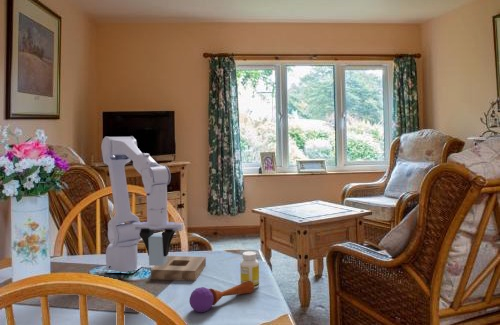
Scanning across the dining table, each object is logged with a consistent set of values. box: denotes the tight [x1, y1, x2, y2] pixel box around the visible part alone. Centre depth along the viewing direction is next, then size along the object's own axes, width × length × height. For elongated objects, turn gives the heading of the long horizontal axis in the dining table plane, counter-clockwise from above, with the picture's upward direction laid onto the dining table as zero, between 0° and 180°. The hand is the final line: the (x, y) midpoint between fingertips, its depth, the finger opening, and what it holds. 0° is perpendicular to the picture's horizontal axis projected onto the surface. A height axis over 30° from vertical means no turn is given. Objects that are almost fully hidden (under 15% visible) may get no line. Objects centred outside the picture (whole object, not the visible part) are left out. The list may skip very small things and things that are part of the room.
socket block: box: [150, 255, 207, 282], centre depth 128 cm, size 14×14×3 cm
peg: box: [148, 233, 168, 267], centre depth 113 cm, size 4×4×8 cm
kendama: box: [189, 281, 255, 313], centre depth 104 cm, size 6×6×20 cm
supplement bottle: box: [239, 250, 260, 290], centre depth 115 cm, size 5×5×10 cm
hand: (158, 255), depth 113 cm, fingers closed on peg, 4 cm apart
